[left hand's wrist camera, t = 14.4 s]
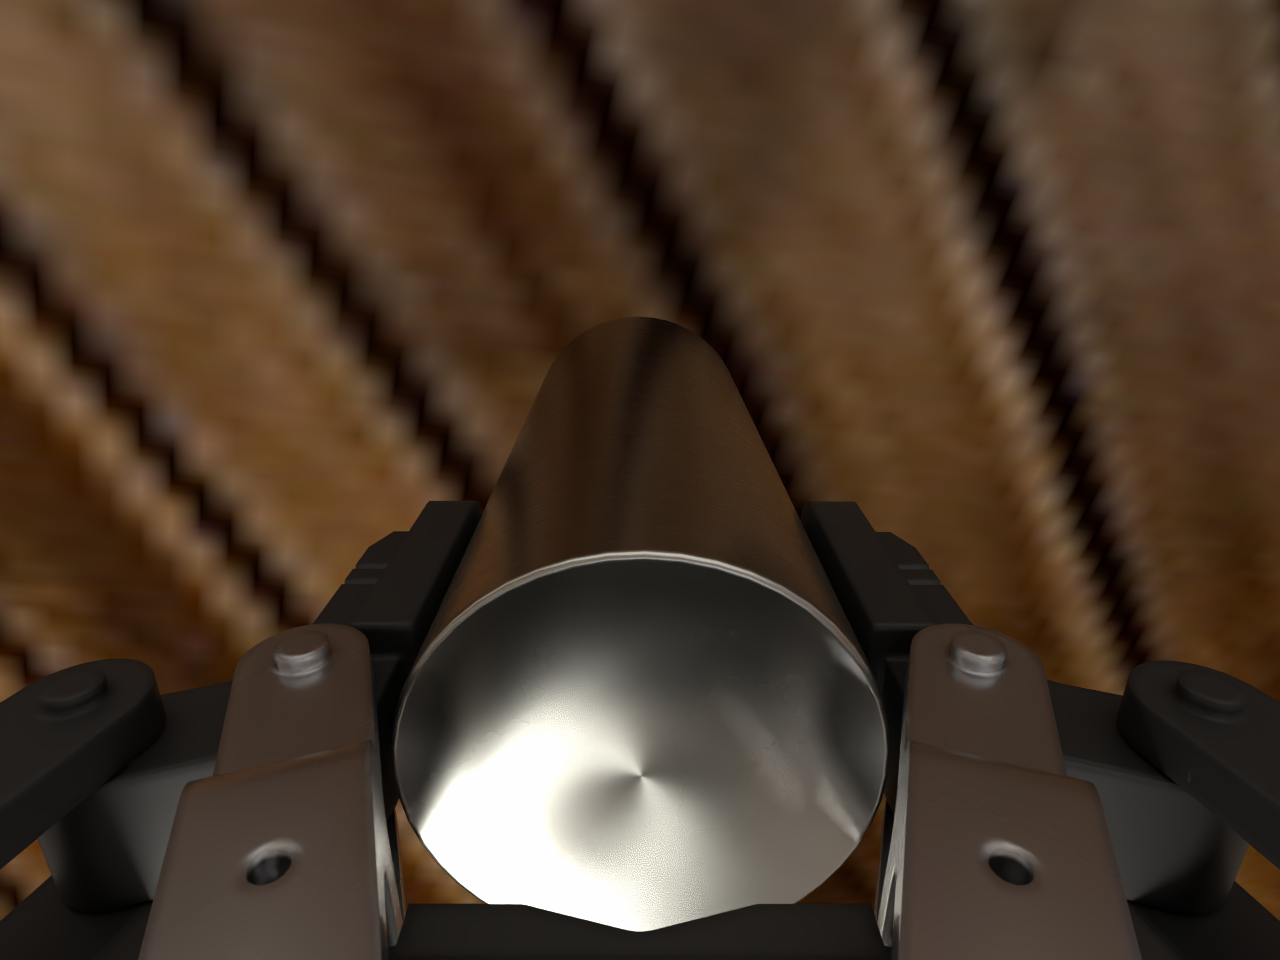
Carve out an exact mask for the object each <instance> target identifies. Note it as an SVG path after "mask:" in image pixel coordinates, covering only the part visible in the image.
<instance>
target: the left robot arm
mask: <svg viewBox="0 0 1280 960" xmlns="http://www.w3.org/2000/svg"><path fill="white" fill-rule="evenodd" d="M481 516H482V511H481V507H480V504H479V502H478V501H429V502H428V503H427V504H426V506H425V508H424V509H423V511H422V512H421V514H420V515H419V517H418V518H417V520H416V521H415V523H414V524H413V526H412V528H411V529H410V531H409V532H392V533H391V534H389V535H388V536H386V537H384V538H383V539H381V540H380V541H378V542H376V543H375V544H373V545H372V546H370V547H369V548H368V549H367V550H366V552H365V553H364V555H363V556H362V557H361V559H360V560H359V561H358V563H357V564H356V569H353V570H352V571H351V572H350V574H349V575H348V576H347V578H346V579H345V584H342V585H341V586H340V587H339V589H338V590H337V592H336V593H335V594H334V596H333V597H332V598H331V600H330V601H329V603H328V604H327V605H326V607H325V608H324V609H323V611H322V612H321V613H320V615H319V616H318V618H317V619H316V620H315V622H314V623H313V624H312V625H306V626H301V627H297V628H293V629H290V630H286V631H283V632H281V633H278V634H276V635H273V636H271V637H269V638H267V639H265V640H264V641H262V642H260V643H259V644H257V645H255V646H254V647H253V648H252V649H250V650H249V651H248V652H247V653H246V654H245V655H244V656H243V657H242V658H241V660H240V661H239V663H238V664H237V667H236V669H235V673H234V678H233V681H229V682H225V683H220V684H216V685H210V686H205V687H200V688H195V689H190V690H184V691H179V692H174V693H169V694H164V695H160V692H159V689H158V686H157V682H156V679H155V675H154V673H153V671H152V669H151V668H150V667H149V666H148V665H147V664H145V663H143V662H140V661H136V660H131V659H106V660H98V661H93V662H88V663H84V664H80V665H76V666H72V667H69V668H66V669H63V670H60V671H58V672H55V673H53V674H50V675H48V676H46V677H44V678H42V679H40V680H38V681H35V682H34V683H32V684H30V685H28V686H27V687H25V688H23V689H22V690H20V691H18V692H17V693H15V694H14V695H12V696H10V697H9V698H7V699H6V700H4V701H3V702H1V703H0V869H1V868H2V867H4V866H5V865H6V864H7V863H9V862H10V861H11V860H12V859H13V858H15V857H16V856H17V855H18V854H19V853H21V852H22V851H23V850H24V849H25V848H27V847H28V846H29V845H30V844H31V843H33V842H34V841H35V840H36V839H37V840H38V842H39V844H40V847H41V849H42V852H43V854H44V857H45V859H46V862H47V864H48V867H49V869H50V872H51V874H52V875H51V876H50V877H49V878H48V879H47V880H46V881H45V882H44V883H43V884H41V885H40V886H39V887H38V888H37V889H36V890H35V891H34V892H32V893H31V894H30V895H29V896H28V897H27V898H26V899H25V900H24V901H22V902H21V903H20V904H19V905H18V906H17V907H16V908H15V909H13V910H12V911H11V912H10V913H9V914H8V915H7V916H6V917H5V918H3V919H2V920H1V921H0V960H1280V921H1279V920H1278V919H1277V918H1276V917H1274V916H1273V915H1272V914H1271V913H1270V912H1269V911H1268V910H1267V909H1265V908H1264V907H1263V906H1262V905H1261V904H1260V903H1259V902H1258V901H1256V900H1255V899H1254V898H1253V897H1252V896H1251V895H1250V894H1249V893H1248V892H1246V891H1245V890H1244V889H1243V888H1242V887H1241V886H1240V885H1239V884H1237V883H1236V882H1235V881H1234V880H1235V878H1236V875H1237V873H1238V870H1239V868H1240V866H1241V863H1242V861H1243V858H1244V856H1245V853H1246V851H1247V848H1248V846H1249V844H1250V845H1251V846H1252V847H1253V848H1255V849H1256V850H1257V851H1258V852H1259V853H1261V854H1262V855H1263V856H1264V857H1265V858H1267V859H1268V860H1269V861H1270V862H1272V863H1273V864H1274V865H1275V866H1276V867H1278V868H1279V869H1280V703H1279V702H1277V701H1276V700H1274V699H1273V698H1271V697H1270V696H1268V695H1266V694H1265V693H1263V692H1262V691H1260V690H1258V689H1256V688H1255V687H1253V686H1251V685H1250V684H1248V683H1246V682H1243V681H1241V680H1239V679H1237V678H1235V677H1233V676H1230V675H1228V674H1225V673H1223V672H1220V671H1217V670H1214V669H1211V668H1207V667H1203V666H1199V665H1195V664H1190V663H1185V662H1177V661H1152V662H1147V663H1143V664H1140V665H1138V666H1136V667H1135V668H1134V669H1133V670H1132V671H1131V672H1130V675H1129V677H1128V681H1127V684H1126V687H1125V691H1124V694H1123V696H1122V695H1117V694H1111V693H1106V692H1101V691H1096V690H1091V689H1085V688H1080V687H1075V686H1070V685H1065V684H1061V683H1057V682H1053V681H1050V680H1047V678H1046V673H1045V670H1044V667H1043V664H1042V663H1041V661H1040V660H1039V658H1038V657H1037V656H1036V655H1035V654H1034V653H1033V652H1032V651H1031V650H1030V649H1028V648H1027V647H1026V646H1024V645H1023V644H1021V643H1020V642H1018V641H1016V640H1015V639H1013V638H1011V637H1009V636H1007V635H1004V634H1002V633H999V632H997V631H994V630H990V629H987V628H983V627H979V626H974V625H972V623H971V622H970V621H969V619H968V618H967V617H966V615H965V614H964V613H963V611H962V610H961V609H960V607H959V606H958V605H957V603H956V602H955V601H954V599H953V598H952V597H951V595H950V594H949V592H948V591H947V590H946V588H945V587H944V586H943V585H940V580H939V579H938V578H937V576H936V575H935V574H934V572H933V571H932V570H929V566H928V564H927V563H926V561H925V560H924V559H923V557H922V556H921V555H920V553H919V552H918V551H917V549H916V548H915V547H913V546H912V545H910V544H908V543H907V542H905V541H904V540H902V539H900V538H899V537H897V536H896V535H894V534H892V533H891V532H875V531H874V529H873V528H872V526H871V525H870V523H869V522H868V520H867V519H866V517H865V516H864V514H863V513H862V511H861V510H860V508H859V507H858V505H857V504H856V503H855V502H806V503H805V504H804V507H803V510H802V515H801V523H802V525H803V527H804V529H805V532H806V534H807V536H808V538H809V540H810V542H811V544H812V546H813V548H814V550H815V552H816V554H817V557H818V559H819V561H820V563H821V565H822V567H823V569H824V571H825V573H826V575H827V577H828V580H829V582H830V584H831V586H832V588H833V590H834V592H835V594H836V596H837V598H838V600H839V603H840V605H841V607H842V609H843V611H844V613H845V615H846V617H847V619H848V621H849V623H850V625H851V628H852V630H853V632H854V634H855V636H856V638H857V640H858V642H859V644H860V646H861V648H862V651H863V653H864V655H865V657H866V659H867V661H868V663H869V665H870V667H871V669H872V672H873V674H874V676H875V679H876V681H877V683H878V686H879V688H880V690H881V692H882V695H883V699H884V703H885V708H886V712H887V716H888V720H889V732H890V745H891V747H890V758H889V769H888V776H887V780H886V784H885V788H884V794H885V796H886V804H885V810H884V816H883V823H882V831H881V842H880V853H879V864H878V875H877V886H876V897H875V908H874V912H873V909H872V905H871V904H755V905H751V906H747V907H743V908H739V909H735V910H731V911H727V912H723V913H719V914H715V915H711V916H707V917H703V918H699V919H695V920H691V921H687V922H683V923H679V924H675V925H671V926H667V927H663V928H659V929H655V930H650V931H630V930H625V929H621V928H617V927H613V926H609V925H605V924H601V923H597V922H593V921H589V920H585V919H581V918H577V917H573V916H569V915H565V914H561V913H557V912H553V911H549V910H545V909H541V908H537V907H533V906H529V905H525V904H409V905H408V909H407V912H406V909H405V898H404V887H403V876H402V865H401V854H400V842H399V831H398V823H397V817H396V811H395V806H396V804H397V802H398V799H399V795H398V791H397V786H396V782H395V777H394V773H393V764H392V746H391V740H392V731H393V722H394V715H395V712H396V708H397V705H398V701H399V698H400V694H401V691H402V688H403V686H404V684H405V682H406V679H407V677H408V675H409V673H410V671H411V669H412V666H413V664H414V662H415V660H416V658H417V656H418V653H419V651H420V649H421V647H422V645H423V643H424V640H425V638H426V636H427V634H428V632H429V629H430V627H431V625H432V623H433V621H434V619H435V616H436V614H437V612H438V610H439V608H440V606H441V603H442V601H443V599H444V597H445V595H446V592H447V590H448V588H449V586H450V584H451V582H452V579H453V577H454V575H455V573H456V571H457V569H458V566H459V564H460V562H461V560H462V558H463V555H464V553H465V551H466V549H467V547H468V545H469V542H470V540H471V538H472V536H473V534H474V532H475V529H476V527H477V525H478V523H479V521H480V519H481Z"/></svg>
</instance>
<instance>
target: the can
mask: <svg viewBox="0 0 1280 960" xmlns="http://www.w3.org/2000/svg"><path fill="white" fill-rule="evenodd" d="M391 746H392V764H393V773H394V777H395V782H396V786H397V791H398V795H399V799H400V801H401V804H402V806H403V809H404V811H405V814H406V816H407V819H408V821H409V823H410V825H411V826H412V828H413V830H414V832H415V833H416V835H417V837H418V838H419V840H420V842H421V844H422V845H423V846H424V847H425V849H426V850H427V851H428V852H429V854H430V855H431V856H432V858H433V859H434V860H435V861H436V863H437V864H438V865H439V866H440V867H441V868H442V869H443V870H444V871H445V872H446V873H447V874H448V875H449V876H450V877H451V878H452V879H453V880H454V881H455V882H456V883H458V884H459V885H460V886H462V887H463V888H464V889H466V890H467V891H468V892H470V893H471V894H472V895H473V896H475V897H476V898H477V899H479V900H480V901H482V902H484V903H485V904H525V905H529V906H533V907H537V908H541V909H545V910H549V911H553V912H557V913H561V914H565V915H569V916H573V917H577V918H581V919H585V920H589V921H593V922H597V923H601V924H605V925H609V926H613V927H617V928H621V929H625V930H630V931H650V930H655V929H659V928H663V927H667V926H671V925H675V924H679V923H683V922H687V921H691V920H695V919H699V918H703V917H707V916H711V915H715V914H719V913H723V912H727V911H731V910H735V909H739V908H743V907H747V906H751V905H755V904H795V903H797V902H798V901H800V900H801V899H803V898H804V897H805V896H807V895H808V894H809V893H811V892H812V891H813V890H815V889H816V888H818V887H819V886H820V885H822V884H823V883H824V882H825V881H826V880H827V879H828V878H829V877H830V876H831V875H832V874H833V873H834V872H835V871H836V870H838V869H839V868H840V867H841V866H842V864H843V863H844V862H845V861H846V860H847V858H848V857H849V856H850V855H851V853H852V852H853V851H854V850H855V849H856V847H857V846H858V845H859V843H860V841H861V840H862V838H863V836H864V835H865V833H866V832H867V830H868V828H869V827H870V825H871V823H872V821H873V819H874V816H875V814H876V812H877V809H878V807H879V805H880V802H881V800H882V796H883V792H884V788H885V784H886V780H887V776H888V769H889V758H890V747H891V745H890V732H889V720H888V716H887V712H886V708H885V703H884V699H883V695H882V692H881V690H880V688H879V686H878V683H877V681H876V679H875V676H874V674H873V672H872V669H871V667H870V665H869V663H868V661H867V659H866V657H865V655H864V653H863V651H862V648H861V646H860V644H859V642H858V640H857V638H856V636H855V634H854V632H853V630H852V628H851V625H850V623H849V621H848V619H847V617H846V615H845V613H844V611H843V609H842V607H841V605H840V603H839V600H838V598H837V596H836V594H835V592H834V590H833V588H832V586H831V584H830V582H829V580H828V577H827V575H826V573H825V571H824V569H823V567H822V565H821V563H820V561H819V559H818V557H817V554H816V552H815V550H814V548H813V546H812V544H811V542H810V540H809V538H808V536H807V534H806V532H805V529H804V527H803V525H802V523H801V521H800V519H799V517H798V515H797V513H796V511H795V509H794V506H793V504H792V502H791V500H790V498H789V496H788V494H787V492H786V490H785V488H784V486H783V484H782V481H781V479H780V477H779V475H778V473H777V471H776V469H775V467H774V465H773V463H772V461H771V458H770V456H769V454H768V452H767V450H766V448H765V446H764V444H763V442H762V440H761V438H760V436H759V433H758V431H757V429H756V427H755V425H754V423H753V421H752V419H751V417H750V415H749V413H748V410H747V408H746V406H745V404H744V402H743V400H742V398H741V396H740V394H739V392H738V390H737V388H736V385H735V383H734V381H733V379H732V377H731V375H730V373H729V371H728V369H727V367H726V366H725V364H724V362H723V361H722V359H721V358H720V357H719V355H718V354H717V353H716V352H715V351H714V349H713V348H712V347H711V346H710V345H708V344H707V343H706V342H705V341H704V340H703V339H702V338H700V337H699V336H697V335H696V334H695V333H693V332H692V331H690V330H688V329H686V328H684V327H682V326H680V325H677V324H674V323H672V322H669V321H666V320H661V319H656V318H648V317H628V318H621V319H616V320H611V321H608V322H605V323H602V324H599V325H597V326H595V327H593V328H591V329H589V330H587V331H585V332H584V333H582V334H581V335H579V336H578V337H576V338H575V339H574V340H573V341H572V342H571V343H569V344H568V345H567V346H566V347H565V348H564V349H563V351H562V352H561V353H560V354H559V355H558V356H557V358H556V359H555V361H554V362H553V364H552V365H551V367H550V369H549V371H548V373H547V375H546V377H545V379H544V381H543V384H542V386H541V388H540V390H539V392H538V394H537V397H536V399H535V401H534V403H533V405H532V408H531V410H530V412H529V414H528V416H527V418H526V421H525V423H524V425H523V427H522V429H521V431H520V434H519V436H518V438H517V440H516V442H515V445H514V447H513V449H512V451H511V453H510V455H509V458H508V460H507V462H506V464H505V466H504V468H503V471H502V473H501V475H500V477H499V479H498V482H497V484H496V486H495V488H494V490H493V492H492V495H491V497H490V499H489V501H488V503H487V505H486V508H485V510H484V512H483V514H482V516H481V519H480V521H479V523H478V525H477V527H476V529H475V532H474V534H473V536H472V538H471V540H470V542H469V545H468V547H467V549H466V551H465V553H464V555H463V558H462V560H461V562H460V564H459V566H458V569H457V571H456V573H455V575H454V577H453V579H452V582H451V584H450V586H449V588H448V590H447V592H446V595H445V597H444V599H443V601H442V603H441V606H440V608H439V610H438V612H437V614H436V616H435V619H434V621H433V623H432V625H431V627H430V629H429V632H428V634H427V636H426V638H425V640H424V643H423V645H422V647H421V649H420V651H419V653H418V656H417V658H416V660H415V662H414V664H413V666H412V669H411V671H410V673H409V675H408V677H407V679H406V682H405V684H404V686H403V688H402V691H401V694H400V698H399V701H398V705H397V708H396V712H395V715H394V722H393V731H392V740H391Z"/></svg>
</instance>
